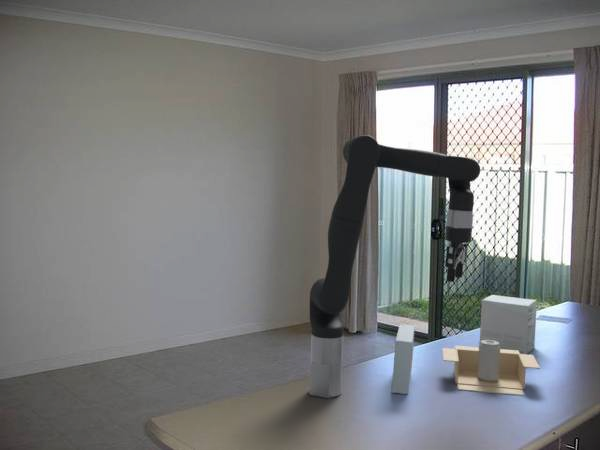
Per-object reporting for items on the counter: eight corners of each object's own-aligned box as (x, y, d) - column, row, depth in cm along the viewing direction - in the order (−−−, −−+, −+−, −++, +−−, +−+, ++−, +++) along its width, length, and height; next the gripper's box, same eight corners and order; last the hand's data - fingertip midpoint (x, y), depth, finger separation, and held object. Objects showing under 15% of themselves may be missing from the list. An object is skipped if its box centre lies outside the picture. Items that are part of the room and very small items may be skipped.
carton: (540, 397, 198) (542, 372, 197) (442, 388, 203) (443, 364, 203) (529, 373, 220) (531, 351, 219) (441, 366, 225) (442, 344, 224)
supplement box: (535, 347, 251) (538, 299, 249) (526, 356, 240) (529, 306, 238) (489, 339, 260) (491, 293, 259) (478, 347, 249) (480, 299, 247)
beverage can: (498, 377, 213) (501, 340, 212) (497, 383, 207) (500, 345, 206) (478, 375, 215) (480, 338, 214) (476, 381, 209) (478, 343, 208)
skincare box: (409, 395, 197) (412, 341, 195) (391, 393, 198) (393, 340, 196) (412, 373, 217) (414, 324, 216) (395, 371, 219) (397, 323, 217)
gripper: (453, 222, 208) (448, 274, 209) (439, 225, 195) (435, 281, 197) (477, 225, 204) (472, 278, 206) (465, 228, 192) (460, 284, 193)
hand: (454, 279), depth 201 cm, fingers open, 8 cm apart
